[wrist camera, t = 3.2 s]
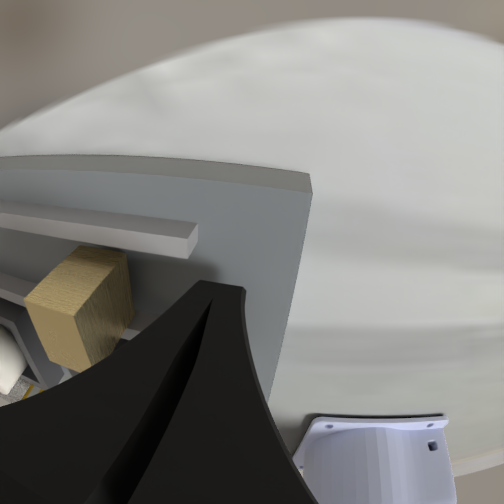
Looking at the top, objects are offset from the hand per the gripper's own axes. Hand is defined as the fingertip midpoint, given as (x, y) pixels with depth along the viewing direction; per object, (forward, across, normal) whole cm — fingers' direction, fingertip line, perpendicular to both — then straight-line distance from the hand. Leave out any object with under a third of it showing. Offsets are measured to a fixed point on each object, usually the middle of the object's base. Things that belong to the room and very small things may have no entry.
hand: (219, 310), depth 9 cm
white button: (0, +12, +6) cm, 13 cm away
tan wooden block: (0, +4, 0) cm, 4 cm away
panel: (+3, +7, +3) cm, 8 cm away
